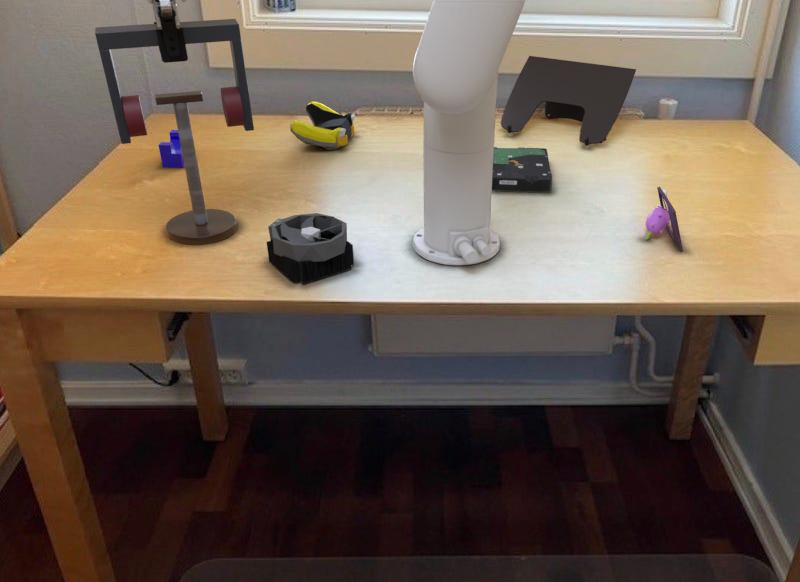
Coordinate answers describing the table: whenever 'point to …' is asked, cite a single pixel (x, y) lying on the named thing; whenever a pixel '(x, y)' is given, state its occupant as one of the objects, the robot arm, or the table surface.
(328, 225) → the cpu cooler
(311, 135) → the gaming controller
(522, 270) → the table surface
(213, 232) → the stand
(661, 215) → the purple piece
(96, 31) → the headset
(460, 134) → the robot arm
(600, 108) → the laptop tray
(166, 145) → the cable holder
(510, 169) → the disk drive
